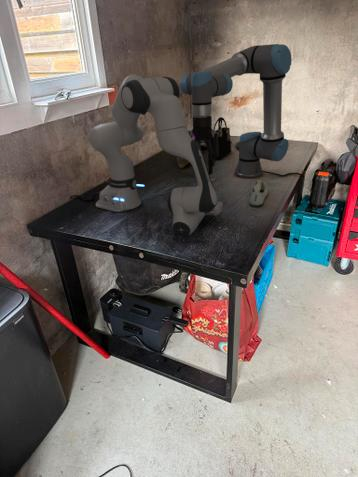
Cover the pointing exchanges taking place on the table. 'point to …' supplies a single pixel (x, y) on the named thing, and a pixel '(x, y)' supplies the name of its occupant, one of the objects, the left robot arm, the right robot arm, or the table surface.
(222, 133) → the handbag
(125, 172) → the left robot arm
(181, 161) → the boot
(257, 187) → the ballet flat
